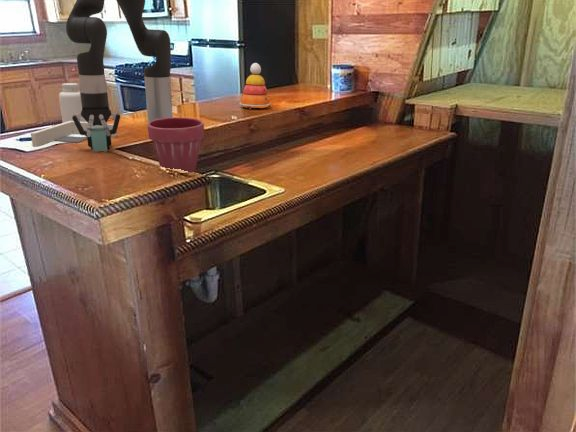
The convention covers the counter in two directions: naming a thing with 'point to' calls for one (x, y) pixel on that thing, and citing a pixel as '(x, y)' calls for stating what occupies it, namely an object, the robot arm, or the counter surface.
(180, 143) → the plant pot
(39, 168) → the counter surface
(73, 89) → the pill bottle
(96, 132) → the teal block
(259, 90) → the stacking toy
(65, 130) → the beige l-shaped wall
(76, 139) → the pad
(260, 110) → the counter surface
